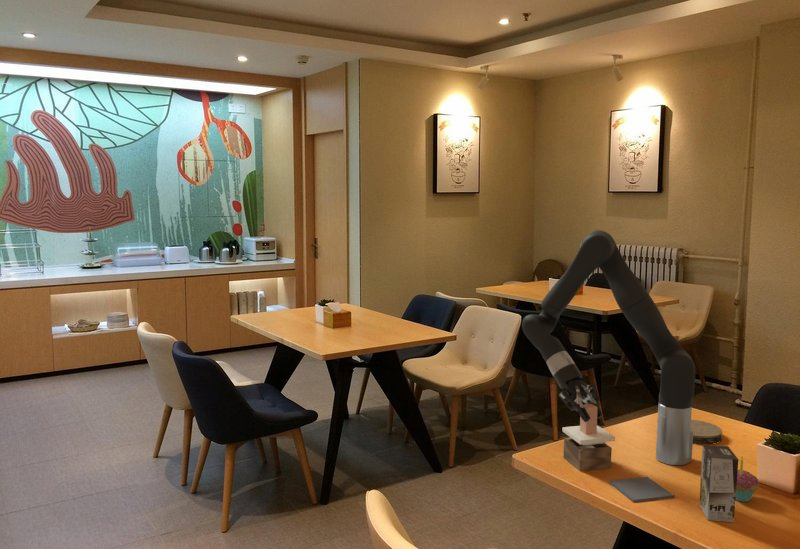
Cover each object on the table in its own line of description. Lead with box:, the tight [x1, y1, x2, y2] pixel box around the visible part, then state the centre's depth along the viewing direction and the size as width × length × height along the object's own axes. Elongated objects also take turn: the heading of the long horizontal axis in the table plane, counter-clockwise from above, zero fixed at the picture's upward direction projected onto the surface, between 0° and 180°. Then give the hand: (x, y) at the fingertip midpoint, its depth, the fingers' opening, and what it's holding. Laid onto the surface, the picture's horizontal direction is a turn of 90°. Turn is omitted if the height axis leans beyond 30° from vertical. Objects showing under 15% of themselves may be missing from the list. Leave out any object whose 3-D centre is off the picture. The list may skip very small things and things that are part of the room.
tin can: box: [691, 419, 723, 445], centre depth 223 cm, size 16×16×3 cm
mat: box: [608, 475, 675, 503], centre depth 183 cm, size 12×12×1 cm
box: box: [563, 437, 613, 472], centre depth 200 cm, size 10×10×6 cm
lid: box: [562, 403, 616, 445], centre depth 199 cm, size 11×11×10 cm
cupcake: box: [735, 457, 760, 502], centre depth 177 cm, size 9×8×12 cm
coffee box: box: [699, 444, 740, 523], centre depth 169 cm, size 9×6×16 cm
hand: (593, 418), depth 197 cm, fingers closed on lid, 4 cm apart
